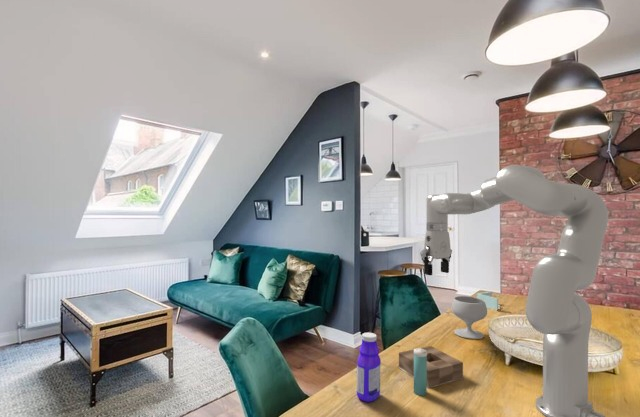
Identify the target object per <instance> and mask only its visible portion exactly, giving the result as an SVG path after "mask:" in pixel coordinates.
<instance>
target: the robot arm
mask: <svg viewBox="0 0 640 417" xmlns="http://www.w3.org/2000/svg"><path fill="white" fill-rule="evenodd" d="M513 201H515V202H517V203H519V204H521V205H522V206H525V207H526V208H529V209H530V210H532V211H534V212H535V213H539V214H541V215H544V216H548V217H549V216H550V217H551V216H552V217H567V221H566V224H565V226H564V227H563V229H562V232H561V235H560V240H559V244H558V249H557V252H556V253H551V254H546V255H545V256H542V258H540V259H539V260H538V262H536V265H535V266H534V268H533V270H532V274H531V280H530V283H529V284H530V285H529V288H528V294H527V297H526V302H525V303H526V304H525V315H526V318H527V321H528V323H529V324H530V326H531V327H532V328H533V329H534V330H535V331H537V332H539V333H540V334H543V337H542V340H543V341H542V395H541V396H538V397H536V399H535V407H536V408H537V410H538V411H539V412H540V413H542V414H543V415H544V416H545V417H606V415H604V414H603V413H601V412H597V411H595V409H594V405H593V404H594V403H593V402H591V401H589V342H590V341H589V340H590V332H591V326H592V318H593V317H592V316H593V315H592V310H591V307H590V304H589V303H588V301H587V300H586V299H585V298H584V297H583V296H581V295H580V294H578V293H576V291H580V290H584V289H587V288H589V287H590V286H591V285H593V283H594V282H595V281H596V280H595V279H596V276H597V272H598V267H599V262H600V259H601V254H602V250H603V243H604V240H605V236H606V232H607V228H608V222H609V210H608V208H607V205H606V203H605V201H604V199H603V198H602V197H601V195H599V194H598V193H596V192H595V191H594V190H592V189H590V188H589V187H586V186H583V185H580V184H574V183H568V182H567V183H566V182H565V183H564V182H556V181H552V180H550V179H548V178H546V177H545V175H544V173H543V171H542V170H540V169H539V168H536V167H534V166H529V165H522V164H510V165H507V166H504V167H502V168H501V169H499V171H498V172H497V174H496V176H494V177H490V178H489V179H485V180H484V181H483V182H482V184H481V186H480V189H477V190H476V191H471V192H468V193H459V192H457V193H456V192H455V193H454V192H447V193H443V194H429V195H428V196H427V197H426V226H425V227H426V231H425V236H424V237H425V238H424V245H423V246H424V249H422V250H421V251H420V253H419V255H420V258H421V260H422V264H423V269H424V270H423V274H424V275H427V276H433V264H432V263H433V260H441V261H440V272H441V273H446V274H448V273H449V272H450V262H451V258H452V254H453V249H452V248H451V239H450V238H451V237H450V233H449V231H448V230H449V229H448V227H449V226H448V225H449V224H448V222H449V220H448V219H449V215H471V214H475V213H480V212H483V211H486V210H489V209H491V208H494V207H495V206H498V205H501V204H504V203H509V202H513Z"/></svg>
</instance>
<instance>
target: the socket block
mask: <svg viewBox="0 0 640 417" xmlns="http://www.w3.org/2000/svg"><path fill="white" fill-rule="evenodd" d="M420 348H421V349H425V350H426V351H427V389H431V388H435V387H438V386H441V385H445V384H449V383H453V382H457V381H460V380H464V379H465V378H464V361H461V360H459V359H457V358H455V357H453V356H451V355H449V354H447V353H445V352H444V351H442V350H440V349H438V348H435V347H434V346H432V345H429V346H424V347H420ZM397 368H398V369H399V370H402V371H403V372H404V373H405V374H406V375H408V376H410V377H411V378H413V379H414V349H411V350H406V351H405V350H404V351H401V352H398V366H397Z"/></svg>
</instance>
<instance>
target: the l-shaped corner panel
mask: <svg viewBox="0 0 640 417" xmlns="http://www.w3.org/2000/svg"><path fill="white" fill-rule="evenodd" d="M492 293H493V291H490V290H489V291H485V292H479V293H478V292H477V293H476V298H479V299H482V300H483V301H484V302H485V304H486V307H487V308H491V309H495V310H498V311H499V309H498V307H500V308H501V305H500V304H499V298H498V297H494V296H493V294H492Z"/></svg>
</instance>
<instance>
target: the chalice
mask: <svg viewBox="0 0 640 417" xmlns="http://www.w3.org/2000/svg"><path fill="white" fill-rule="evenodd" d="M451 311H452V313H453V314H454V315H455V316H456V317H457V318H459V319H460V320H462V321H463V322H465V325H466V327H465V328H463V327H462V328H456V329H454V330H453V333H454V334H455V335H456V336H459V337H460V338H461V337H462V338H464V339H469V340H481V339H484V338H485V337H484V335H485V334H484V333H483V332H481V331H479V330H478V329H477V330H476V329H472V325H473V324H474V323H476V322H479V321H482V320H484V319H485V318H486V317H487V315H488V309H487V307H486V304H485V302H484V301H483V300H482V299H479V298H477V297H474V296H466V295H465V296H464V295H462V296H461V295H460V296H455V297H454V299H453V300H452V303H451ZM483 337H484V338H483Z"/></svg>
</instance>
